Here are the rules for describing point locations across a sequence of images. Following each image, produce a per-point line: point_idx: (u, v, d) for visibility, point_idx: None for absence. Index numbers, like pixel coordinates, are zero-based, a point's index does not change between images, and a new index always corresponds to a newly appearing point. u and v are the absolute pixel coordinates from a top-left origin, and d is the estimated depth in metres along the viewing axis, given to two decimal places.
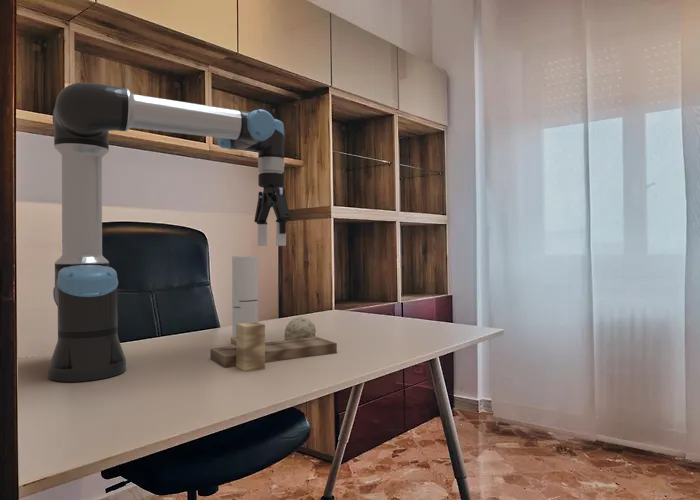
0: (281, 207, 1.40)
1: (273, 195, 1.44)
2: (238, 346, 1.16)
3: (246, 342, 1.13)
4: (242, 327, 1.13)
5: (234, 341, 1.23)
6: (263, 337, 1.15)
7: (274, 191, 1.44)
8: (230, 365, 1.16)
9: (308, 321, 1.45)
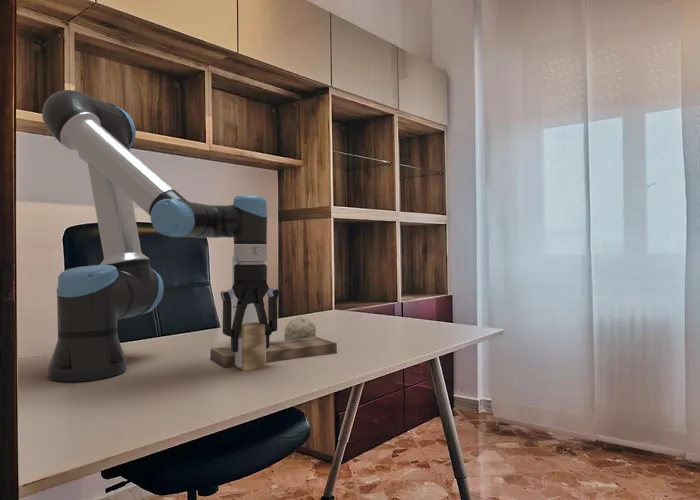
0: (223, 319, 1.13)
1: None
2: None
3: (246, 342, 1.13)
4: (242, 327, 1.13)
5: None
6: (263, 337, 1.15)
7: None
8: (230, 365, 1.16)
9: (308, 321, 1.45)
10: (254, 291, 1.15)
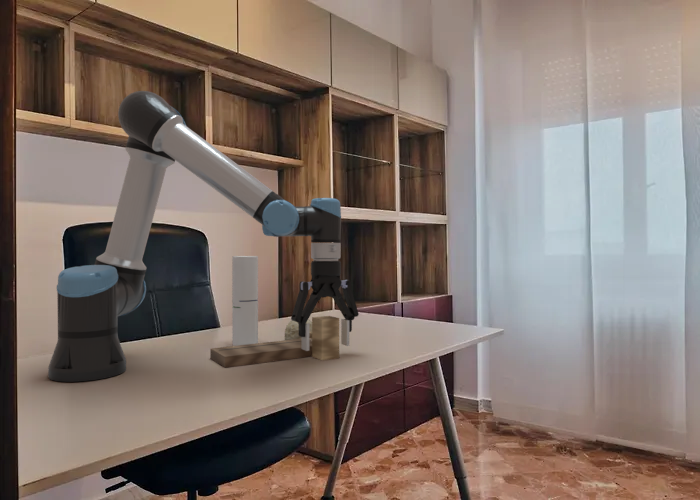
0: (295, 306, 1.23)
1: None
2: (314, 338, 1.26)
3: (323, 334, 1.23)
4: (319, 320, 1.24)
5: None
6: (338, 329, 1.26)
7: None
8: (230, 365, 1.16)
9: (308, 321, 1.45)
10: (330, 286, 1.26)
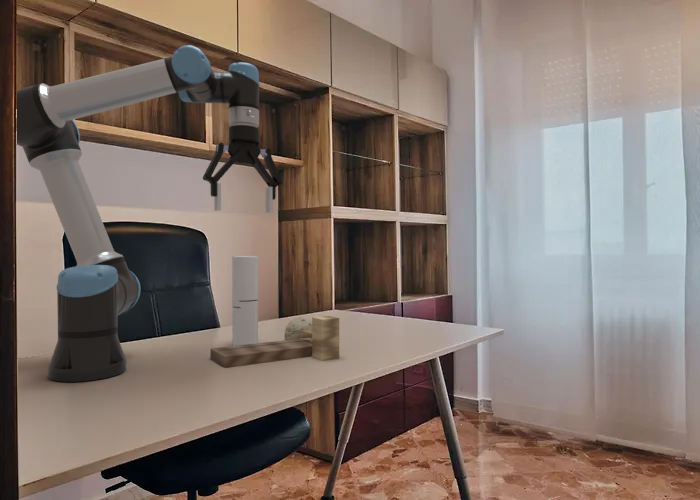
0: (208, 166, 1.23)
1: None
2: (314, 338, 1.26)
3: (323, 334, 1.23)
4: (319, 320, 1.24)
5: (306, 333, 1.33)
6: (338, 329, 1.26)
7: None
8: (230, 365, 1.16)
9: (308, 321, 1.45)
10: (247, 153, 1.26)
